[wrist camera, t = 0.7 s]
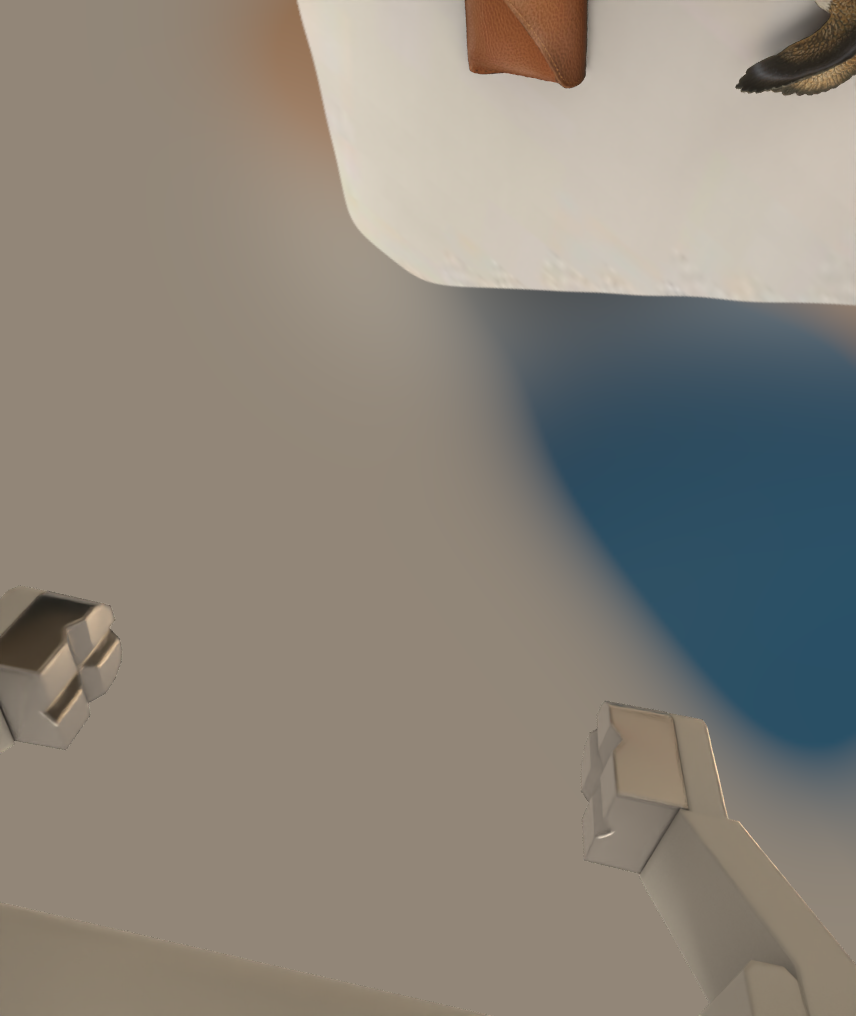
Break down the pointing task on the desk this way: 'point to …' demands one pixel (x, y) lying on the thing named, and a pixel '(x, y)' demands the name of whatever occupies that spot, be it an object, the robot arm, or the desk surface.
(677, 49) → the desk surface
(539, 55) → the sunglasses case
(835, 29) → the eagle figurine
